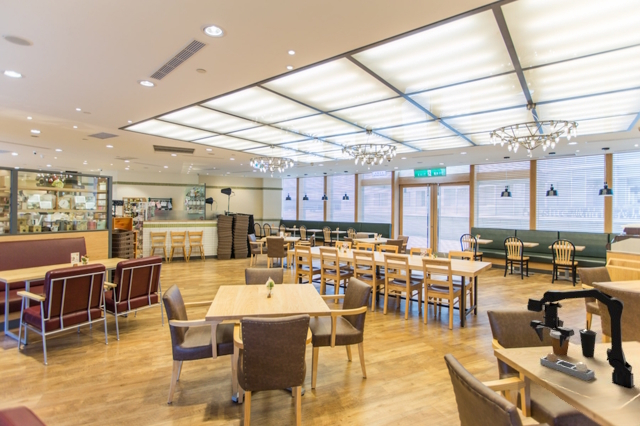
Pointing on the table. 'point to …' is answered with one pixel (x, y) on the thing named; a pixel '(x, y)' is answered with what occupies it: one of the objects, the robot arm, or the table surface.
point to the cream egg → (581, 367)
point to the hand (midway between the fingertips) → (551, 344)
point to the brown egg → (552, 357)
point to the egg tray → (567, 368)
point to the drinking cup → (587, 342)
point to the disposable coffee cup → (556, 344)
